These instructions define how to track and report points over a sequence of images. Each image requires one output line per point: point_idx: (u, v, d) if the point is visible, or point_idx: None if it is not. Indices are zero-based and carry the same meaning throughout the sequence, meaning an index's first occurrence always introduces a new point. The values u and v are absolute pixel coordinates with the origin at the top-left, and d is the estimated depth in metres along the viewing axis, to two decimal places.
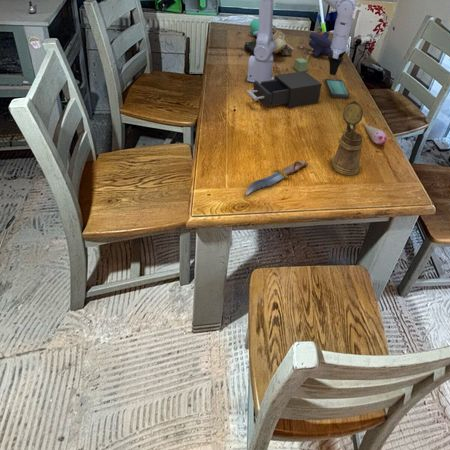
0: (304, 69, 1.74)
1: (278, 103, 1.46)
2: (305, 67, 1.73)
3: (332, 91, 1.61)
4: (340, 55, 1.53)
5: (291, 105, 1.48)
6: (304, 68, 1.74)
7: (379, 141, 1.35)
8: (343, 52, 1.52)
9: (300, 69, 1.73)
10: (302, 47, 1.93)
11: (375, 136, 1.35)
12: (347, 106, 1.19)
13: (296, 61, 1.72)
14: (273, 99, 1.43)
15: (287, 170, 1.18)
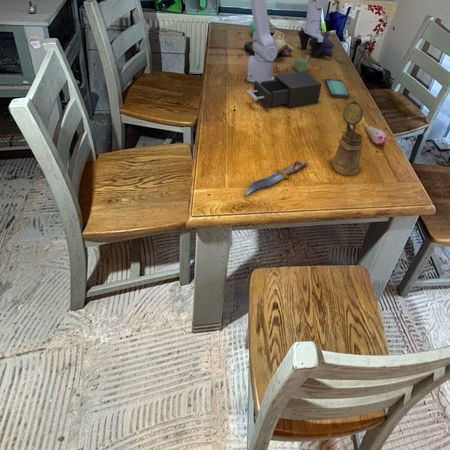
0: (304, 69, 1.74)
1: (278, 103, 1.46)
2: (305, 67, 1.73)
3: (332, 91, 1.61)
4: (307, 38, 1.66)
5: (291, 105, 1.48)
6: (304, 68, 1.74)
7: (379, 141, 1.35)
8: (309, 34, 1.65)
9: (300, 69, 1.73)
10: None
11: (375, 136, 1.35)
12: (347, 106, 1.19)
13: (296, 61, 1.72)
14: (273, 99, 1.43)
15: (287, 170, 1.18)
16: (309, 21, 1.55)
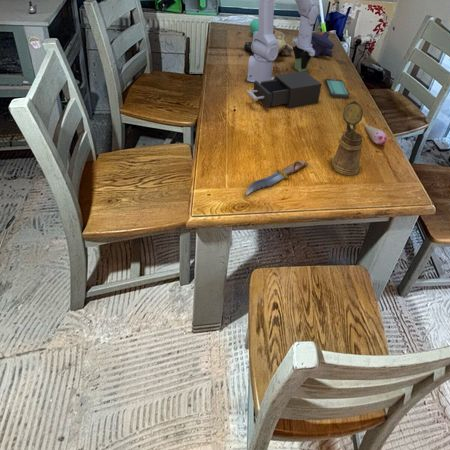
0: (304, 69, 1.74)
1: (278, 103, 1.46)
2: None
3: (332, 91, 1.61)
4: None
5: (291, 105, 1.48)
6: None
7: (379, 141, 1.35)
8: (303, 49, 1.72)
9: (300, 69, 1.73)
10: None
11: (375, 136, 1.35)
12: (347, 106, 1.19)
13: (296, 61, 1.72)
14: (273, 99, 1.43)
15: (287, 170, 1.18)
16: (301, 36, 1.63)
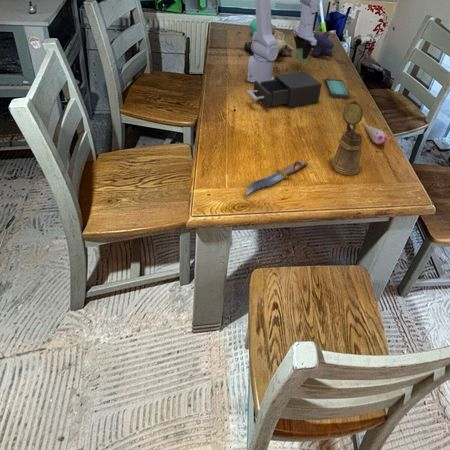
0: (305, 59, 1.71)
1: (278, 103, 1.46)
2: None
3: (332, 91, 1.61)
4: None
5: (291, 105, 1.48)
6: None
7: (379, 141, 1.35)
8: (305, 39, 1.69)
9: (301, 59, 1.70)
10: None
11: (375, 136, 1.35)
12: (347, 106, 1.19)
13: (297, 51, 1.69)
14: (273, 99, 1.43)
15: (287, 170, 1.18)
16: (303, 25, 1.60)
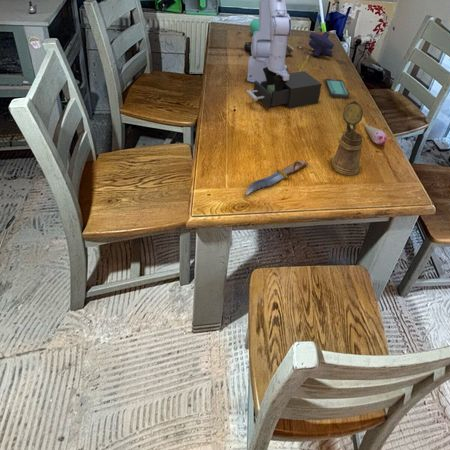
0: None
1: (278, 103, 1.46)
2: None
3: (332, 91, 1.61)
4: (274, 75, 1.45)
5: (291, 105, 1.48)
6: None
7: (379, 141, 1.35)
8: None
9: None
10: (301, 47, 1.93)
11: (375, 136, 1.35)
12: (347, 106, 1.19)
13: (268, 88, 1.46)
14: (273, 99, 1.43)
15: (287, 170, 1.18)
16: (272, 57, 1.36)
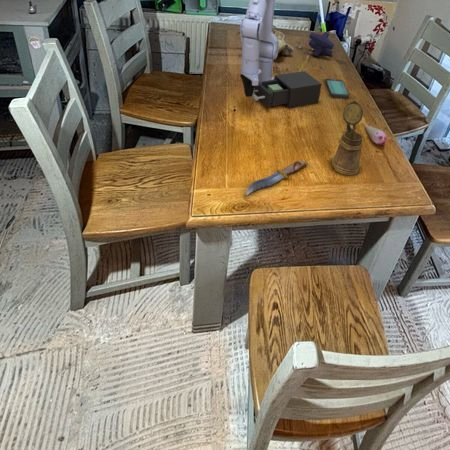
0: None
1: (279, 103, 1.46)
2: None
3: (332, 91, 1.61)
4: (251, 82, 1.39)
5: (291, 105, 1.48)
6: None
7: (379, 141, 1.35)
8: None
9: None
10: (301, 47, 1.93)
11: (375, 136, 1.35)
12: (347, 106, 1.19)
13: (269, 88, 1.46)
14: (274, 99, 1.43)
15: (287, 170, 1.18)
16: (243, 60, 1.31)
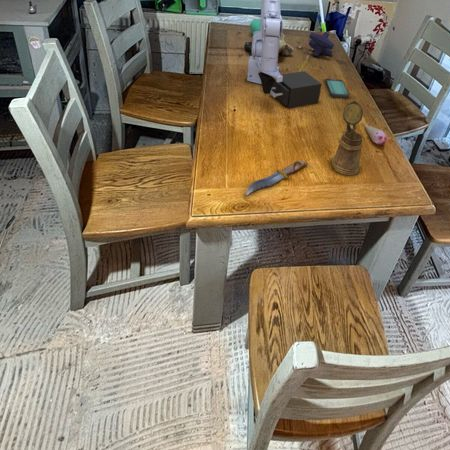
0: None
1: None
2: None
3: (332, 91, 1.61)
4: (269, 79, 1.43)
5: (291, 105, 1.48)
6: None
7: (379, 141, 1.35)
8: None
9: None
10: (301, 47, 1.93)
11: (375, 136, 1.35)
12: (347, 106, 1.19)
13: None
14: None
15: (287, 170, 1.18)
16: (265, 59, 1.34)
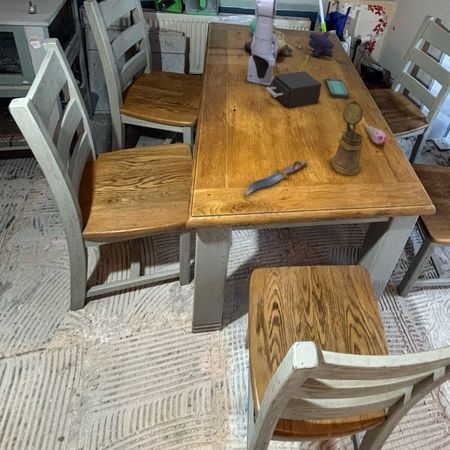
0: None
1: None
2: None
3: (332, 91, 1.61)
4: None
5: (291, 105, 1.48)
6: None
7: (379, 141, 1.35)
8: None
9: None
10: (300, 47, 1.93)
11: (375, 136, 1.35)
12: (347, 106, 1.19)
13: None
14: None
15: (287, 170, 1.18)
16: (258, 40, 1.29)
